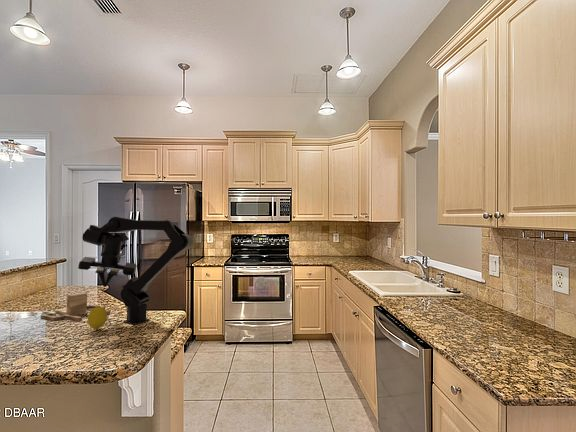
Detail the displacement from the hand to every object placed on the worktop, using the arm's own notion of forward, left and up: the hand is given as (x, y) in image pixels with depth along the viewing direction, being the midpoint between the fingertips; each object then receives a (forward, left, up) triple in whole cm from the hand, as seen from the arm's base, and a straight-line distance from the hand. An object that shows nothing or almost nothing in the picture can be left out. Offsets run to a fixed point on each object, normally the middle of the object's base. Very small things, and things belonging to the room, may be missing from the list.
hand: (105, 286), depth 117 cm
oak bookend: (+19, +1, -12) cm, 22 cm away
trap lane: (+15, +1, -12) cm, 19 cm away
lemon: (-12, +11, -12) cm, 20 cm away
